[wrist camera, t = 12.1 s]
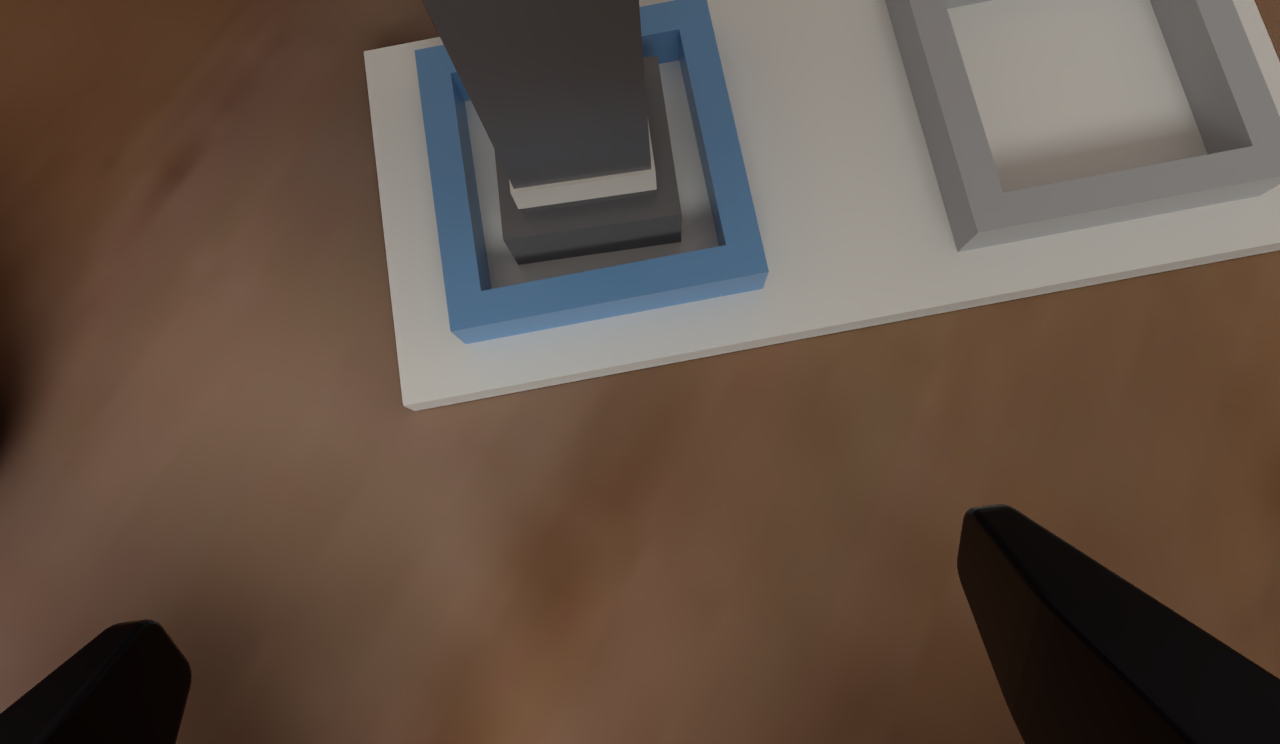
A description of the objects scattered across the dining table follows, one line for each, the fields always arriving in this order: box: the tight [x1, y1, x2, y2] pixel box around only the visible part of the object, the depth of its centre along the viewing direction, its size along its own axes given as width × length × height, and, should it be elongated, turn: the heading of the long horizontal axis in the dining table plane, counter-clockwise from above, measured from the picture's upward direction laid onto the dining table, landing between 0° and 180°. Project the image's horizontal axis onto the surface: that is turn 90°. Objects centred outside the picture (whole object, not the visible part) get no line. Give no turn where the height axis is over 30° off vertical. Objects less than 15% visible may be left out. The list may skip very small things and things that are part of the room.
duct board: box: [364, 0, 1280, 411], centre depth 22 cm, size 28×12×2 cm, turn 100°
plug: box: [422, 0, 682, 265], centre depth 16 cm, size 5×5×13 cm
